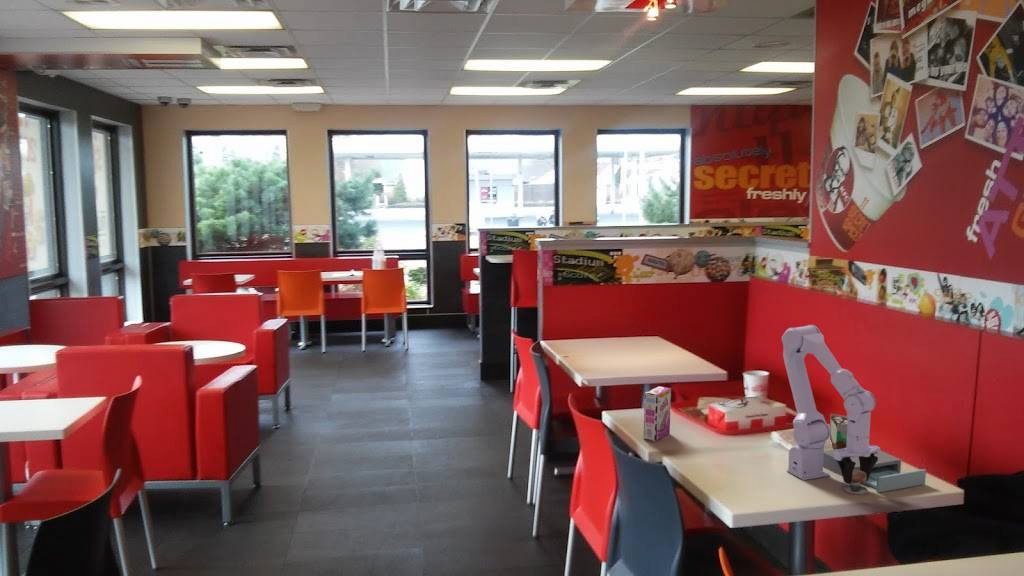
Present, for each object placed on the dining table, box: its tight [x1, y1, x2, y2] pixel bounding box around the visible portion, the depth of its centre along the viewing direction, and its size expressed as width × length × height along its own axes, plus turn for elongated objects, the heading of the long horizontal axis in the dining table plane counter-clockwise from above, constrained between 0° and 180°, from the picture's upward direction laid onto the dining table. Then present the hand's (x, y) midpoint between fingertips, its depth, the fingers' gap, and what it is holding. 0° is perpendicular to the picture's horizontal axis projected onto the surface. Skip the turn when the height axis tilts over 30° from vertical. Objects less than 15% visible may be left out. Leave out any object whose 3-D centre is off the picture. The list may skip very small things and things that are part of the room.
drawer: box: [862, 466, 927, 493], centre depth 231 cm, size 13×17×4 cm
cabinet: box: [823, 448, 902, 477], centre depth 240 cm, size 14×17×4 cm
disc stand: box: [842, 481, 869, 495], centre depth 224 cm, size 6×6×4 cm
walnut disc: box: [852, 470, 867, 483], centre depth 224 cm, size 5×5×2 cm
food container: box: [829, 413, 848, 450], centre depth 257 cm, size 12×6×10 cm, turn 168°
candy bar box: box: [642, 386, 672, 442], centre depth 271 cm, size 11×5×16 cm, turn 144°
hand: (855, 481), depth 224 cm, fingers closed on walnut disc, 5 cm apart
